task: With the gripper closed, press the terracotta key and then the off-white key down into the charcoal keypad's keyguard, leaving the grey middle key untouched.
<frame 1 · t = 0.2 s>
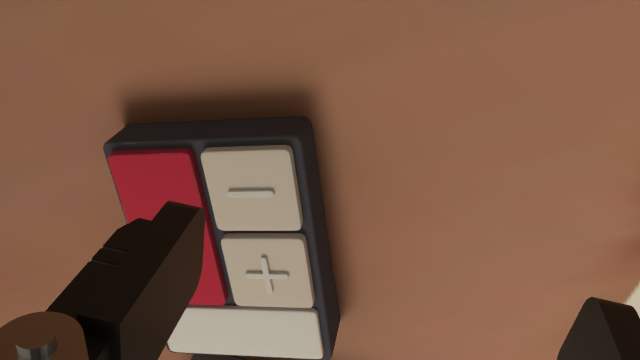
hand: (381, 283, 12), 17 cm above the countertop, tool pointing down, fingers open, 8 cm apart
button control panel: (242, 225, 35), on the countertop
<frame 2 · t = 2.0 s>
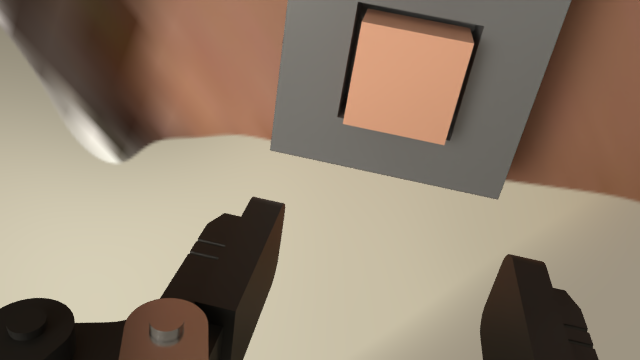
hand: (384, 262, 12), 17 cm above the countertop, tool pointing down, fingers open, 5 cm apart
terracotta key: (405, 76, 24), point 4 cm above the countertop, slide at 0.0 cm
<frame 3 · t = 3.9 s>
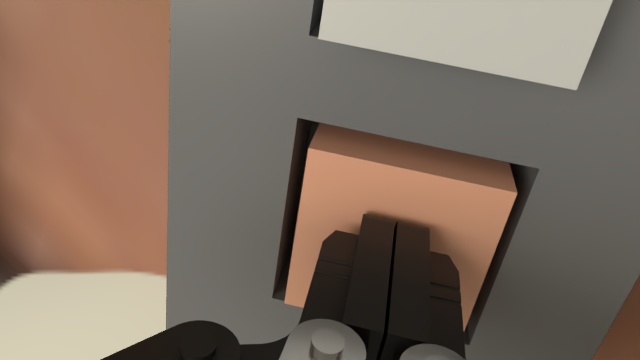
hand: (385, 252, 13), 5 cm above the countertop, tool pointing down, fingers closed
terracotta key: (392, 223, 14), point 3 cm above the countertop, slide at 1.0 cm, touching gripper
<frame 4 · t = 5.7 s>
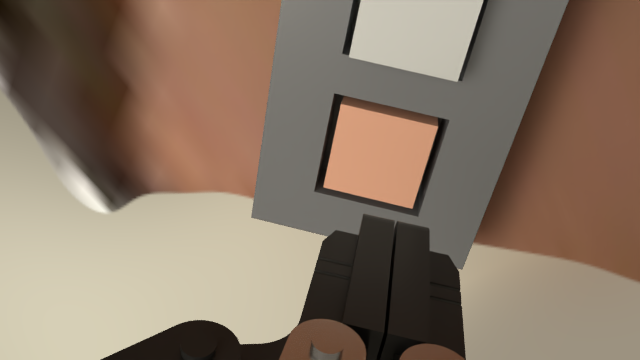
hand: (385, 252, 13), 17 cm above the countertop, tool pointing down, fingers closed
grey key: (417, 7, 22), point 4 cm above the countertop, slide at 0.0 cm
terracotta key: (379, 146, 27), point 3 cm above the countertop, slide at 1.4 cm
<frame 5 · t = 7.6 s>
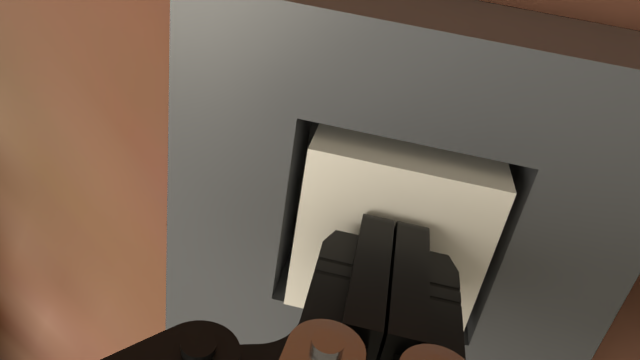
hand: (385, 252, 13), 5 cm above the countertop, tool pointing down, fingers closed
keypad: (356, 333, 20), on the countertop
white key: (391, 224, 14), point 3 cm above the countertop, slide at 1.0 cm, touching gripper
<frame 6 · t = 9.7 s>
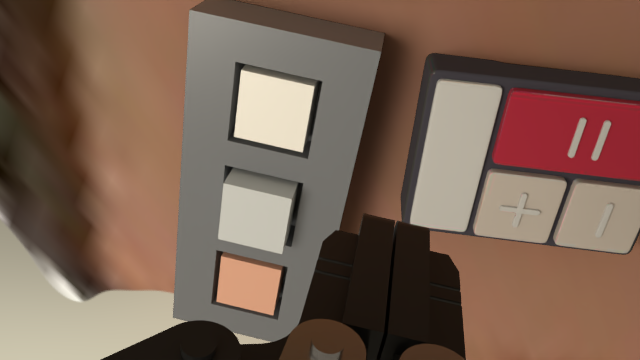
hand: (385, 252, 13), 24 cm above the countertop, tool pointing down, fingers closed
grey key: (258, 209, 37), point 4 cm above the countertop, slide at 0.0 cm
keypad: (272, 178, 40), on the countertop
button control panel: (526, 144, 37), on the countertop
white key: (277, 104, 34), point 3 cm above the countertop, slide at 1.4 cm
terracotta key: (252, 275, 42), point 3 cm above the countertop, slide at 1.4 cm
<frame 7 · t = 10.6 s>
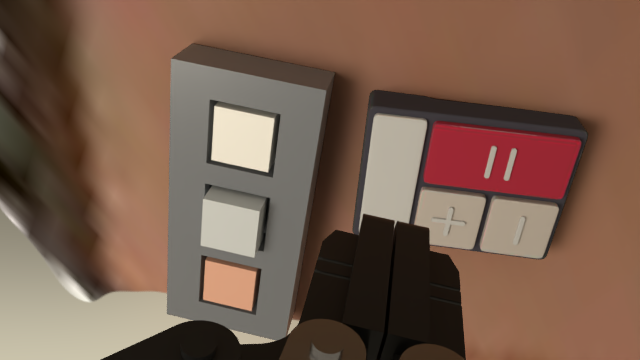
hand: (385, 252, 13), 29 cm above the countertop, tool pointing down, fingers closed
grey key: (234, 220, 44), point 4 cm above the countertop, slide at 0.0 cm
keypad: (249, 193, 47), on the countertop
button control panel: (458, 165, 44), on the countertop
white key: (246, 133, 41), point 3 cm above the countertop, slide at 1.4 cm
terracotta key: (233, 277, 48), point 3 cm above the countertop, slide at 1.4 cm
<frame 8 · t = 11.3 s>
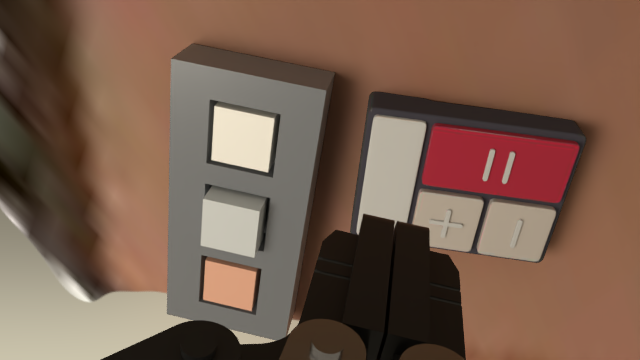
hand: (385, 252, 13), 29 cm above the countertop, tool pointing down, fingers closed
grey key: (234, 220, 44), point 4 cm above the countertop, slide at 0.0 cm
keypad: (249, 193, 47), on the countertop
button control panel: (456, 167, 44), on the countertop
white key: (246, 133, 41), point 3 cm above the countertop, slide at 1.4 cm
terracotta key: (233, 277, 48), point 3 cm above the countertop, slide at 1.4 cm
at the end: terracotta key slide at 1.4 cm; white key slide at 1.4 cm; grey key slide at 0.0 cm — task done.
